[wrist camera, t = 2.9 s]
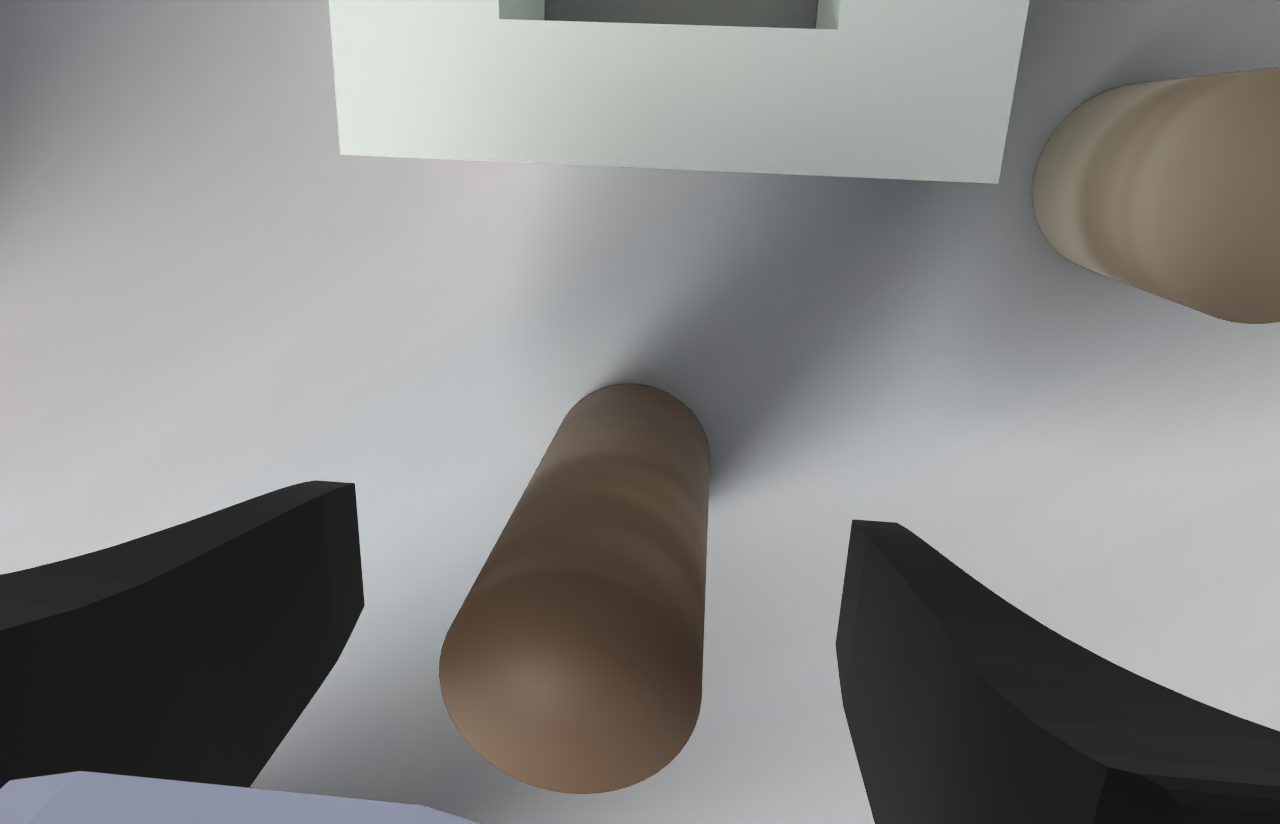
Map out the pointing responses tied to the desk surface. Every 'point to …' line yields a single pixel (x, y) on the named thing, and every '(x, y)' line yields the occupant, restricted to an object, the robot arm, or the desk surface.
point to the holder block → (684, 88)
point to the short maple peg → (1173, 191)
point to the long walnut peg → (591, 603)
